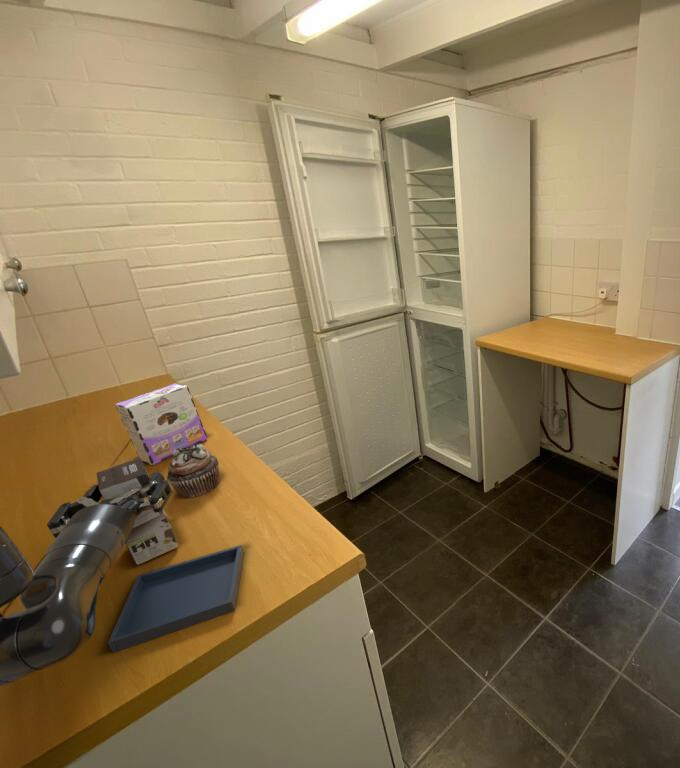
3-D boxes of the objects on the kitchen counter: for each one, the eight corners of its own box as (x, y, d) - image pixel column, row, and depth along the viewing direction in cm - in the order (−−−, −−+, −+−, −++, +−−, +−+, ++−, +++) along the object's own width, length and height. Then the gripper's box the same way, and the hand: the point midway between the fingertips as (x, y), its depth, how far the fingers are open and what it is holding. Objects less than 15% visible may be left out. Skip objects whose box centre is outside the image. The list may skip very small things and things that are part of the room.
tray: (113, 652, 60) (107, 643, 59) (142, 584, 71) (137, 575, 70) (235, 610, 66) (231, 601, 65) (244, 553, 77) (241, 544, 76)
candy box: (196, 435, 118) (175, 382, 111) (208, 439, 115) (189, 385, 109) (139, 461, 106) (113, 403, 100) (152, 466, 104) (126, 407, 97)
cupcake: (169, 488, 95) (152, 451, 91) (217, 469, 102) (204, 434, 98) (180, 506, 89) (163, 467, 85) (230, 484, 96) (217, 447, 92)
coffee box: (180, 546, 78) (147, 473, 72) (136, 566, 74) (97, 490, 68) (172, 525, 84) (141, 456, 78) (131, 542, 80) (95, 471, 74)
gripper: (141, 507, 62) (170, 454, 75) (10, 540, 56) (67, 475, 70) (159, 546, 65) (184, 487, 78) (37, 580, 59) (87, 511, 73)
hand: (129, 482), depth 74 cm, fingers closed on coffee box, 8 cm apart
